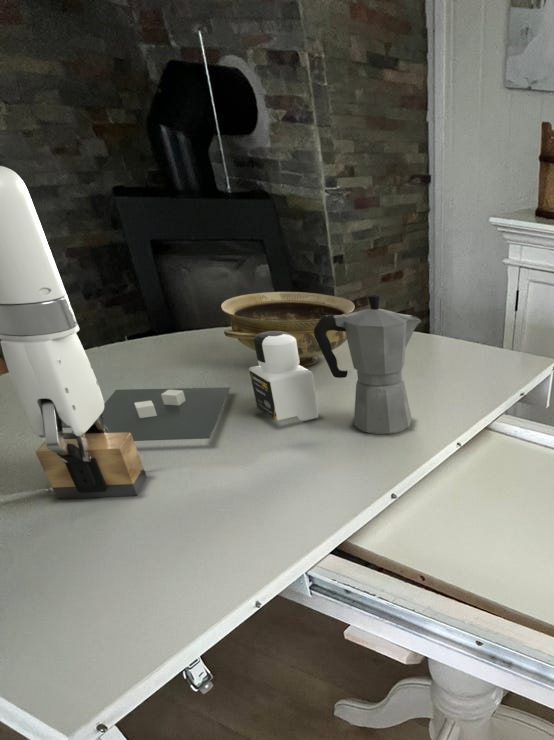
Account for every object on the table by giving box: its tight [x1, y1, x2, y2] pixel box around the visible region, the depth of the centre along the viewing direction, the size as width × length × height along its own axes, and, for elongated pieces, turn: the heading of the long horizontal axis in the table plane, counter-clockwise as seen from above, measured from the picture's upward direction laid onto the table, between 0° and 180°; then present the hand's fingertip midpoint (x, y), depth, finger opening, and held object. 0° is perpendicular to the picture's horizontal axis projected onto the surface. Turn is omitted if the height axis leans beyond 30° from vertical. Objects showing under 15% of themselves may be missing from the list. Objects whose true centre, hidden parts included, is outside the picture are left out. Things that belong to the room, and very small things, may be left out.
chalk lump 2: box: [161, 390, 186, 406], centre depth 93 cm, size 2×2×2 cm
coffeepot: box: [314, 293, 422, 435], centre depth 87 cm, size 15×9×18 cm, turn 110°
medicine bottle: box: [248, 331, 319, 422], centre depth 90 cm, size 7×7×12 cm
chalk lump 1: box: [134, 401, 157, 418], centre depth 88 cm, size 2×2×2 cm
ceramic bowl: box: [220, 291, 356, 367], centre depth 113 cm, size 30×24×10 cm
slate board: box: [102, 386, 231, 442], centre depth 90 cm, size 18×22×1 cm
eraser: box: [34, 432, 148, 500], centre depth 71 cm, size 9×5×6 cm, turn 100°
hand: (100, 479), depth 73 cm, fingers closed on eraser, 5 cm apart
